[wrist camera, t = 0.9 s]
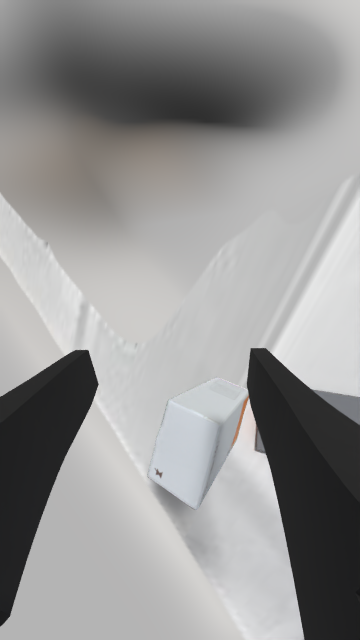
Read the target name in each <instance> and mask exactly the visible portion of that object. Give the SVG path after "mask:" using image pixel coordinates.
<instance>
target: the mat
mask: <svg viewBox="0 0 360 640" xmlns="http://www.w3.org/2000/svg"><path fill="white" fill-rule="evenodd" d="M311 390H312V389H311ZM313 391H314V392H315V393H316V394H318V395H319V396H320V397H321V398H323V399H324V400H325V401H326V402H328V403H329V404H330V405H332V406H333V407H335V408H336V409H337V410H339V411H340V412H342V413H343V414H344V415H346V416H347V417H349V418H350V419H352V420H353V421H355V422H356V423H357V424H359V425H360V397H355V396H349V395H343V394H336V393H330V392H324V391H318V390H313ZM256 449H258V450H261V451H264V452H265V449H264V446H263V443H262V440H261V436H260V433H259V430H258V432H257V448H256Z"/></svg>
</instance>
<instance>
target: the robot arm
mask: <svg viewBox="0 0 360 640" xmlns="http://www.w3.org/2000/svg"><path fill="white" fill-rule="evenodd" d="M97 387H98V381H97V377H96V374H95V371H94V367H93V364H92V361H91V357H90V354H89V351H88V350H75V351H73V352H71V353H69V354H68V355H66V356H64V357H63V358H61V359H60V360H58V361H57V362H55V363H54V364H52V365H51V366H49V367H48V368H46V369H44V370H43V371H41V372H40V373H38V374H37V375H35V376H34V377H32V378H31V379H29V380H27V381H26V382H24V383H23V384H21V385H19V386H18V387H16V388H15V389H13V390H11V391H9V392H8V393H6V394H5V395H3V396H1V397H0V626H1V625H3V624H4V623H5V621H6V620H7V619H8V618H9V617H10V614H11V611H12V607H13V603H14V600H15V597H16V593H17V590H18V587H19V584H20V580H21V577H22V574H23V571H24V567H25V564H26V561H27V558H28V555H29V552H30V549H31V545H32V543H33V540H34V537H35V534H36V531H37V528H38V525H39V522H40V520H41V517H42V514H43V511H44V509H45V506H46V503H47V500H48V498H49V495H50V492H51V490H52V487H53V485H54V482H55V480H56V477H57V474H58V472H59V470H60V467H61V465H62V463H63V461H64V458H65V456H66V454H67V452H68V450H69V448H70V446H71V444H72V442H73V440H74V438H75V436H76V434H77V432H78V430H79V429H80V427H81V425H82V423H83V421H84V419H85V417H86V415H87V413H88V410H89V409H90V407H91V404H92V402H93V399H94V396H95V393H96V390H97ZM247 388H248V394H249V399H250V404H251V408H252V411H253V414H254V418H255V421H256V424H257V427H258V430H259V433H260V436H261V440H262V443H263V446H264V449H265V452H266V455H267V458H268V462H269V465H270V469H271V472H272V477H273V481H274V486H275V490H276V495H277V499H278V504H279V508H280V513H281V518H282V523H283V527H284V532H285V537H286V542H287V547H288V552H289V557H290V562H291V568H292V573H293V578H294V583H295V589H296V594H297V600H298V605H299V611H300V616H301V622H302V628H303V634H304V639H305V640H360V425H359V424H357V423H356V422H355V421H353V420H352V419H350V418H349V417H347V416H346V415H344V414H343V413H342V412H340V411H339V410H337V409H336V408H335V407H333V406H332V405H330V404H329V403H328V402H326V401H325V400H324V399H323V398H321V397H320V396H319V395H318V394H316V393H315V392H314V391H313V390H311V389H310V388H309V387H308V386H306V385H305V384H304V383H303V382H302V381H301V380H299V379H298V378H297V377H296V376H295V375H294V374H293V373H292V372H290V371H289V370H288V369H287V368H286V367H285V366H284V365H283V364H282V363H281V362H280V361H279V360H277V359H276V358H275V357H274V356H273V355H272V354H271V353H270V352H269V351H268V350H267V349H266V348H251V351H250V360H249V369H248V379H247Z"/></svg>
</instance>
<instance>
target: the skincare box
mask: <svg viewBox="0 0 360 640" xmlns="http://www.w3.org/2000/svg"><path fill="white" fill-rule="evenodd" d="M248 398H249V394H248V389H246V388H243V387H241V386H238V385H236V384H233V383H231V382H228V381H226V380H223V379H221V378H218V377H216V378H214V379H211V380H209V381H207V382H205V383H203V384H201V385H199V386H197V387H195V388H193V389H190V390H188V391H186V392H184V393H182V394H179V395H177V396H175V397H173V398H171V399H169V400H168V402H167V405H166V409H165V413H164V416H163V420H162V423H161V427H160V429H159V432H158V435H157V438H156V441H155V448H154V452H153V455H152V459H151V463H150V467H149V470H148V474H147V476H148V478H150V479H151V480H153V481H154V482H156V483H157V484H159V485H160V486H161V487H163V488H164V489H166V490H167V491H169V492H170V493H171V494H173V495H174V496H176V497H177V498H178V499H180V500H181V501H183V502H184V503H185V504H187V505H188V506H190V507H192V508H193V509H195V510H197V509H198V508H199V506H200V504H201V502H202V501H203V499H204V497H205V495H206V494H207V492H208V490H209V488H210V486H211V485H212V483H213V481H214V479H215V478H216V476H217V474H218V472H219V471H220V469H221V467H222V465H223V464H224V462H225V460H226V458H227V456H228V454H229V453H230V451H231V449H232V447H233V446H234V444H235V442H236V440H237V437H238V433H239V429H240V425H241V422H242V418H243V414H244V411H245V408H246V405H247V401H248Z"/></svg>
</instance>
